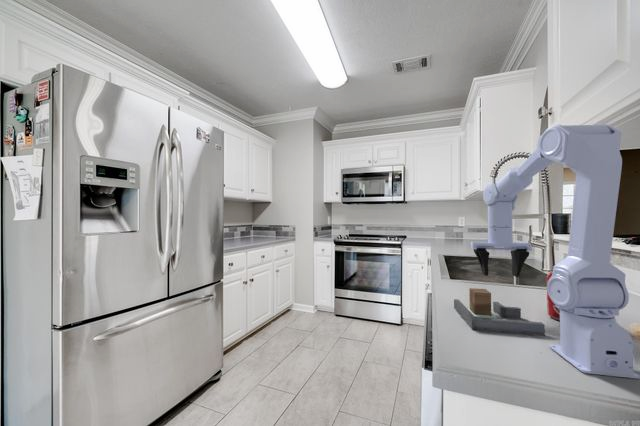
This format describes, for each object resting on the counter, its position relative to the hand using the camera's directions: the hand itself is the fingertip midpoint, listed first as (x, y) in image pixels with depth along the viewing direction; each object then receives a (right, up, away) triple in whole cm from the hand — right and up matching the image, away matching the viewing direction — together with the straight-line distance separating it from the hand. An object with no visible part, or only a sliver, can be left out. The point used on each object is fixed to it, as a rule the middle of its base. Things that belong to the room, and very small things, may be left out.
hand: (500, 275), depth 75 cm
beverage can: (+12, -10, -6) cm, 17 cm away
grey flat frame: (-6, -10, -7) cm, 13 cm away
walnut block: (-7, -10, -2) cm, 12 cm away
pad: (-7, -10, -2) cm, 12 cm away
